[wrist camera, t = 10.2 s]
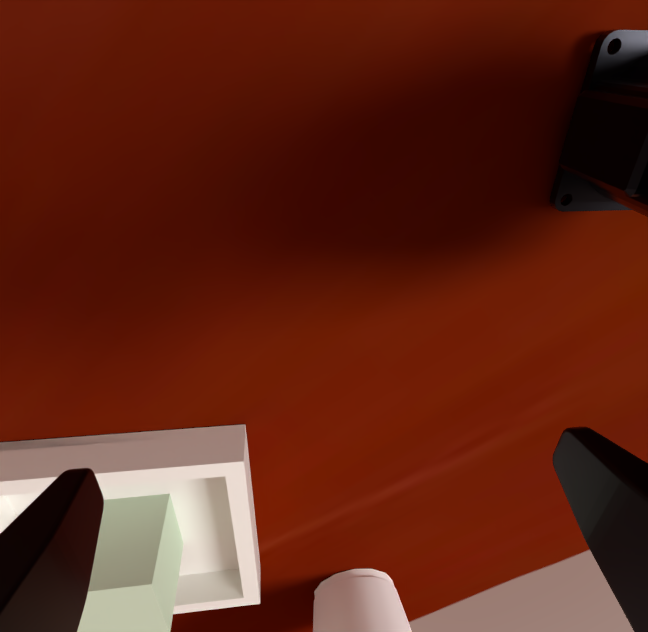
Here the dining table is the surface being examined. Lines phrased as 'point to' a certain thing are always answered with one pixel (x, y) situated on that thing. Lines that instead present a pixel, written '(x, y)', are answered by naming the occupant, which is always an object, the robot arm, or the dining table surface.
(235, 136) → the dining table surface
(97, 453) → the tray
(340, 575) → the foam cup
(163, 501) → the cube
